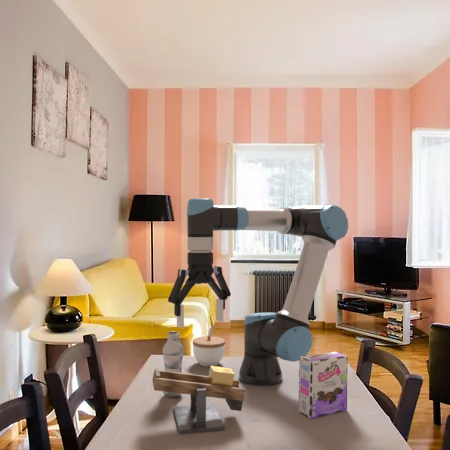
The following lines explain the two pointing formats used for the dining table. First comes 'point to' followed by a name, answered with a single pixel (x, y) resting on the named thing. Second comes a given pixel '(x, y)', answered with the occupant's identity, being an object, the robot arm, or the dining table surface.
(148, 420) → the dining table surface
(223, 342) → the lidded bowl
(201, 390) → the pivot stand
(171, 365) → the plastic bottle
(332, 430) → the dining table surface
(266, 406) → the dining table surface
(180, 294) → the robot arm
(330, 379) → the candy box
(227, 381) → the block
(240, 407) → the beam
